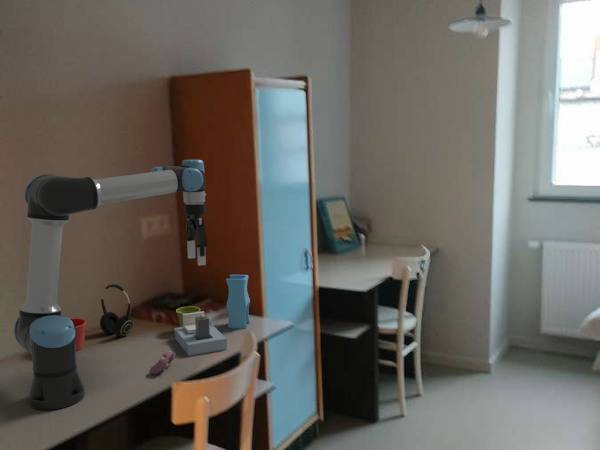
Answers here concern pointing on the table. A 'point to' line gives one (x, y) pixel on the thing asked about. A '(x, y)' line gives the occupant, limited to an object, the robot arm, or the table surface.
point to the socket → (200, 341)
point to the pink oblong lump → (163, 362)
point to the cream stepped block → (191, 321)
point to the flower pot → (79, 332)
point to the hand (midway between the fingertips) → (196, 261)
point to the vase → (238, 301)
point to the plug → (202, 327)
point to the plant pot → (185, 312)
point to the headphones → (116, 318)
